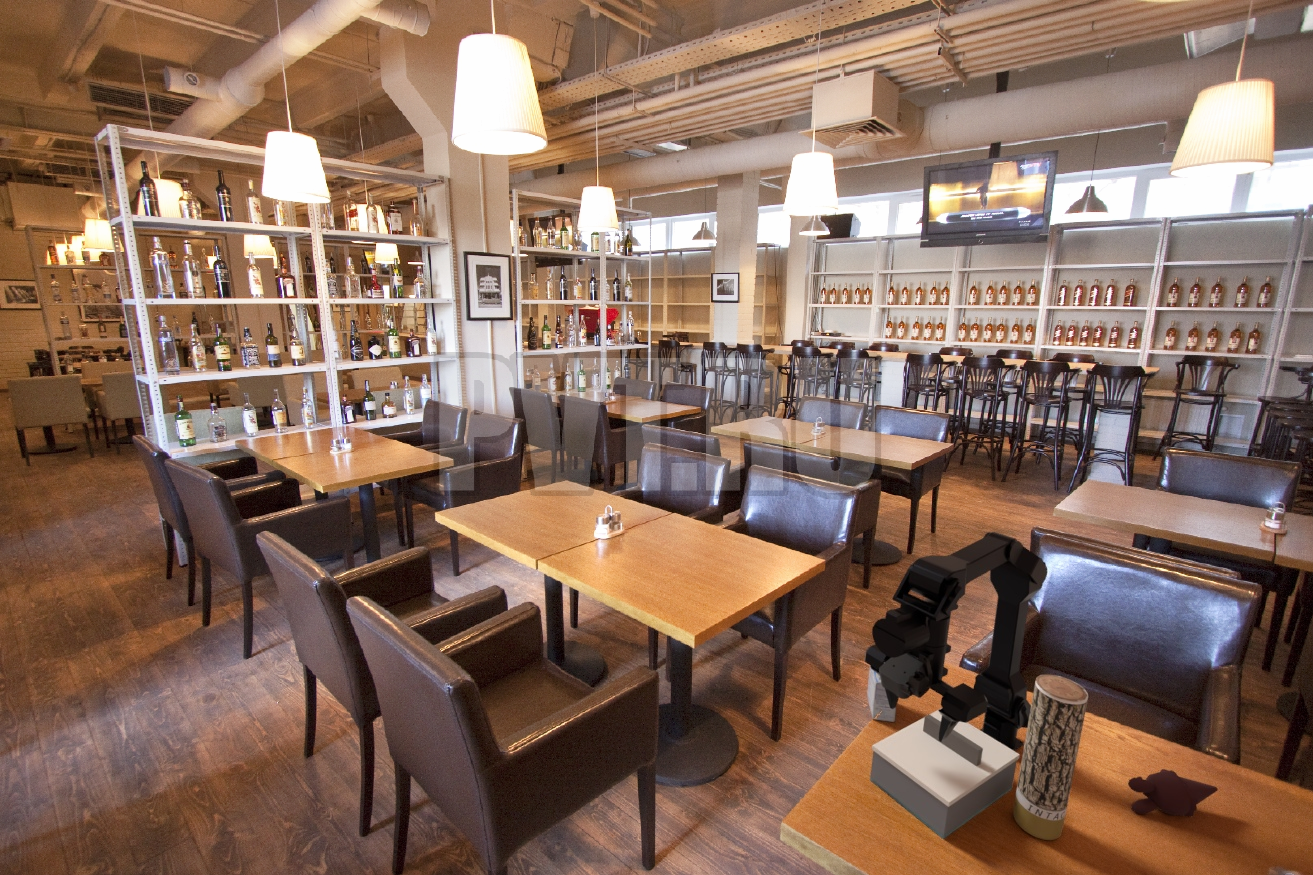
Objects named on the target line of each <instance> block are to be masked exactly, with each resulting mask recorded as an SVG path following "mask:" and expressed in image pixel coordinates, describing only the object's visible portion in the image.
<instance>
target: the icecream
mask: <svg viewBox="0 0 1313 875" xmlns="http://www.w3.org/2000/svg"><path fill="white" fill-rule="evenodd" d="M1127 785H1128V788H1130V789H1131V790H1132V791H1134V792H1136V793H1140V794H1141V793H1142V795H1143V796H1145V797H1146V798H1140V799H1139V798H1138V799H1137V800H1135V801H1133V802H1132V804H1131V806H1130V808H1131V811H1132V812H1134V813H1136V814H1137V815H1147V814H1149V813H1152V812H1153V811H1155V810H1157V808H1158V810H1159V811H1161V812H1163V813H1165V814H1167V815H1170V816H1179V817H1180V816H1184V817H1187V818H1192V817H1193V816H1194V813H1195V811H1197V810H1198V807H1197V805H1198V804H1199V803H1202V801H1203V802H1204V800H1206V799H1207V798H1208V797H1210V796H1212V795H1213V794H1215V793H1216V792H1218V787H1216V786H1215V785H1211V784H1209V783H1208V784H1207V783H1203V782H1200V781H1196V780H1194V779H1189V778H1187V777H1186V778H1185V777H1182V776H1179V775H1178V774H1177V772H1175V771H1173V770H1169V769H1165V768H1164V769H1160V771H1159V772H1155V773H1152V774H1149V775H1147V777H1146V779H1143V777H1142V776H1137V777H1132V778H1130V779H1129V780H1128V783H1127Z"/></svg>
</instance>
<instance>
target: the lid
mask: <svg viewBox="0 0 1313 875" xmlns="http://www.w3.org/2000/svg"><path fill="white" fill-rule="evenodd" d="M940 709H942V707H941V708H939V709H937V710H936V711H933V712H931V713H930V714H929V713H928V714H926V715H925V716H924V717H922V718H920V719H919V720H917V721H915V722H913V723H911V724H909V725H907V726H905V727H904V728H902V729H900V730H898V731H897V732H895V733H892V734H891V735H889V736H887V737H885V738H882V739H881V740H879V741H877V742H876V743H874V744H872V746H871V750H872V751H875V752H876V753H877V754H879V755H880V756H881V757H883V758H884V759H885V760H887V761H888V762H889V763H891V764H892V765H893V766H895V767H896V768H897V769H899V770H900V771H901V772H903V773H904V774H905V775H907V776H908V777H909V778H911V779H912V780H913V781H915V782H916V783H917V784H919V785H920V786H921V787H923V788H924V789H925V790H927V791H928V792H929V793H931V794H932V795H933V796H935V797H936V798H937V799H939V800H940V801H941V802H943V803H944V804H945V805H947V806H948V807H949V806H951V805H952V804H954V803H955V802H956V801H958V800H959V799H961V798H962V797H964V796H965V795H967V794H968V793H970V792H971V791H972V790H974V789H975V788H977V787H978V786H980V785H981V784H983V783H984V782H986V781H987V780H989V779H990V778H991V777H993V776H994V775H996V774H997V773H999V772H1000V771H1002V770H1003V769H1005V768H1006V767H1007V766H1009V765H1010V764H1012V763H1013V762H1015V761H1016V760H1017V761H1018V760H1019V759H1020V753H1018V752H1016V750H1015V751H1013V750H1012V749H1010V748H1008V747H1007V746H1005V745H1003V744H1002V743H1000V742H998V741H997V740H995V739H993V738H992V737H990V736H988V735H987V734H985V733H984V732H982V731H980V729H979V728H976V727H975V726H974V725H972V724H970V723H969V722H967V723H964V722H958V723H957V725H956V726H955V727H954V729H953V730H952V731H951V733H950V734H949V735H948V737H947V738H946V739H945V740H944V741H943V742H940V741H939V729H940V724H941V718H942V715H941V714H940V712H939V711H938V710H940Z"/></svg>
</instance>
